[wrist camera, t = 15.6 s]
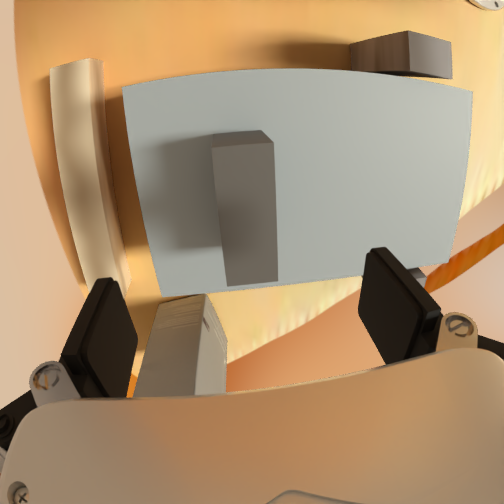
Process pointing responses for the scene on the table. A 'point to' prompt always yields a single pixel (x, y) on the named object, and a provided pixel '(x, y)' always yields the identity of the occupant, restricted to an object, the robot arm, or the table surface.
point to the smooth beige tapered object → (87, 170)
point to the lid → (294, 174)
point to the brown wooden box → (404, 65)
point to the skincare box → (184, 351)
